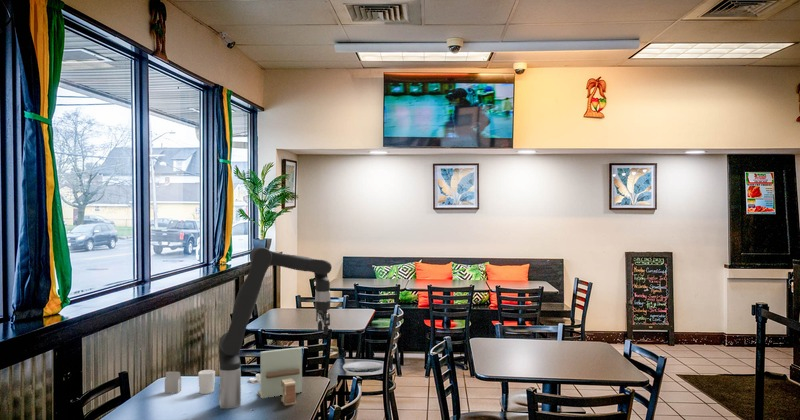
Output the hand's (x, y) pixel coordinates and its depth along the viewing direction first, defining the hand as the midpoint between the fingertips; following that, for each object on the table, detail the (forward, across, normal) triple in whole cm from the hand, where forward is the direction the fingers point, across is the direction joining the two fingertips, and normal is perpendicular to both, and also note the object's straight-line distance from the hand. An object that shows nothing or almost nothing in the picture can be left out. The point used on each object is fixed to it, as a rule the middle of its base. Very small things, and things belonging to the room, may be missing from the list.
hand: (322, 332), depth 280 cm
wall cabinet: (+29, +9, -20) cm, 37 cm away
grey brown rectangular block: (+30, -34, -67) cm, 81 cm away
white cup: (+30, -26, -52) cm, 65 cm away
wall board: (+29, -6, -20) cm, 36 cm away
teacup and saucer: (+30, -35, -25) cm, 52 cm away
